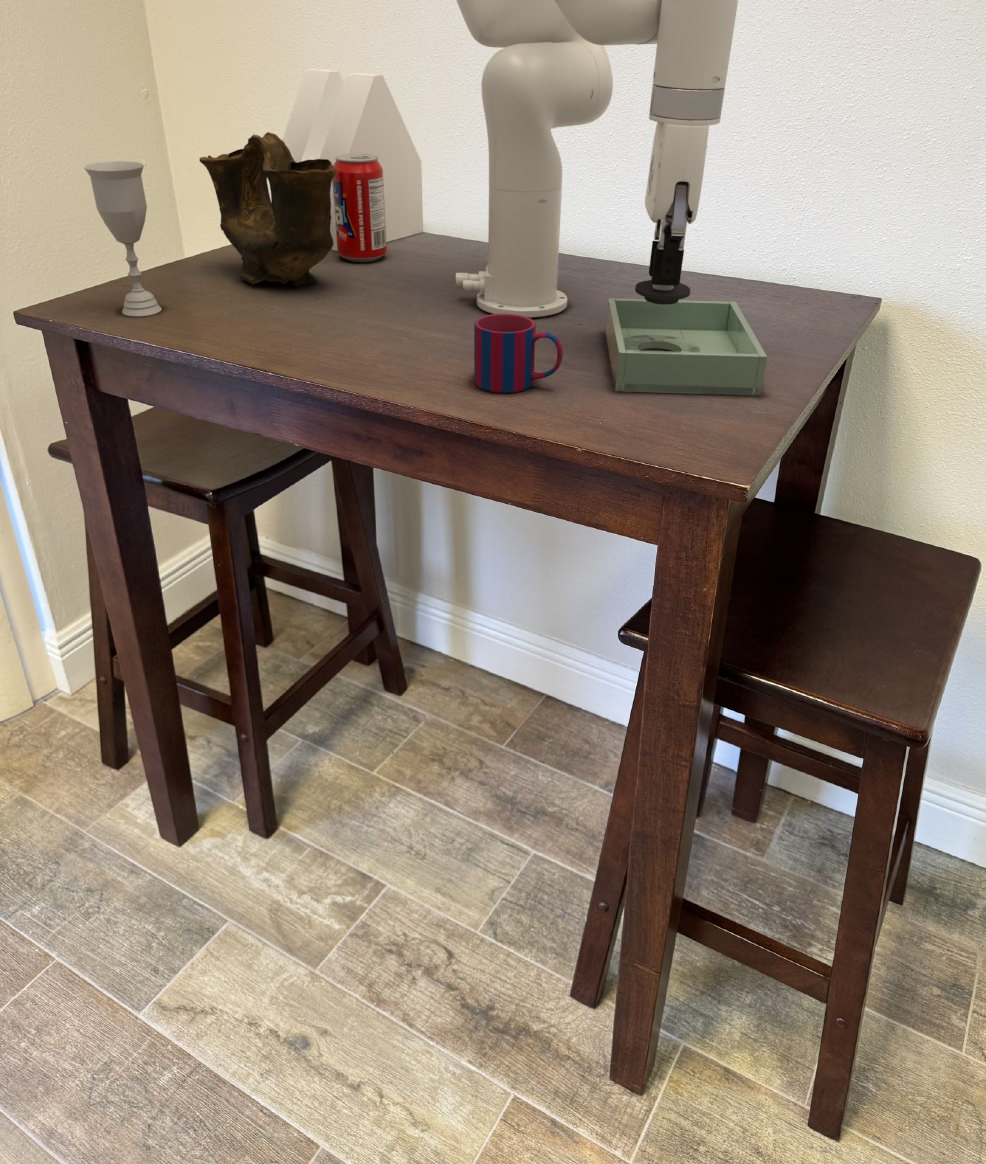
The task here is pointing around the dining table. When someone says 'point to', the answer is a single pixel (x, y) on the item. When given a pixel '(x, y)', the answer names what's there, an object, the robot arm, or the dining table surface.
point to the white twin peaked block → (359, 139)
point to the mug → (508, 353)
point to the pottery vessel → (274, 209)
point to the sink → (684, 366)
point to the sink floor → (679, 349)
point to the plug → (662, 292)
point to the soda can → (359, 207)
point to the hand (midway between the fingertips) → (663, 279)
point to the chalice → (124, 220)
